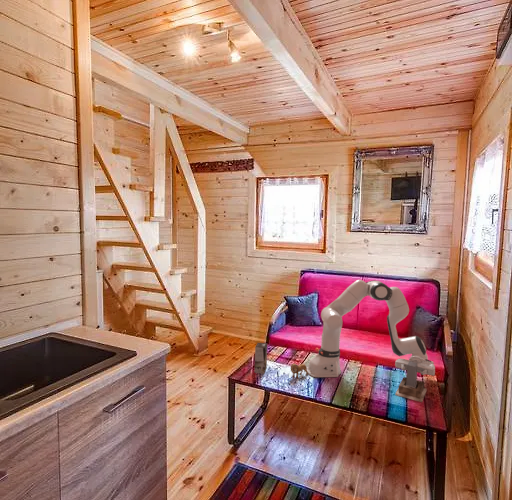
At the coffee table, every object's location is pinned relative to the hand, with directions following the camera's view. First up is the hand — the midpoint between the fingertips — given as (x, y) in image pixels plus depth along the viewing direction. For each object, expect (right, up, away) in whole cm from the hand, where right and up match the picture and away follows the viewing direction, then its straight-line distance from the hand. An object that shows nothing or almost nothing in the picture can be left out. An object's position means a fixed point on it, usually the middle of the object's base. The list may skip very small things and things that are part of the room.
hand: (412, 371), depth 180 cm
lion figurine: (-60, -10, +17) cm, 63 cm away
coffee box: (-83, -9, +25) cm, 87 cm away
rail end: (-1, -11, 0) cm, 11 cm away
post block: (-1, -12, 0) cm, 12 cm away
